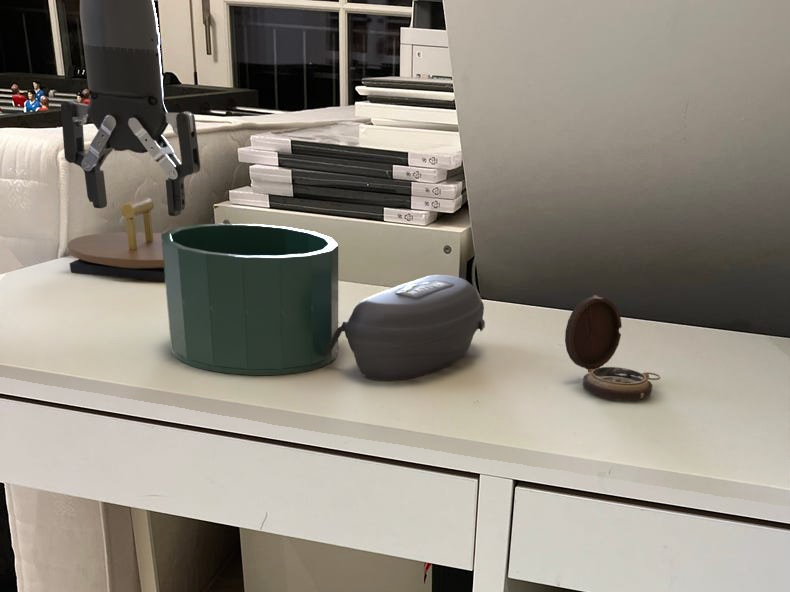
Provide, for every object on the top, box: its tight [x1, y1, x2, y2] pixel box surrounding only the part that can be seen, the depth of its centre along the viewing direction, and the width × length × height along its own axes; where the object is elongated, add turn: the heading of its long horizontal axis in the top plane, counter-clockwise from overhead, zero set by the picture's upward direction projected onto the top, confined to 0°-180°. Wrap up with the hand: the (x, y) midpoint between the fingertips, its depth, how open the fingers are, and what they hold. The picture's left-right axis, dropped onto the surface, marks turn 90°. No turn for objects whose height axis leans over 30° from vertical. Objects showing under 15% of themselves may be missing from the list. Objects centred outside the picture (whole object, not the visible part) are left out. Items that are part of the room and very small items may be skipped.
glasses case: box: [324, 274, 486, 381], centre depth 88 cm, size 18×10×8 cm, turn 154°
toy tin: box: [161, 223, 339, 376], centre depth 86 cm, size 15×15×10 cm
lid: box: [67, 196, 164, 269], centre depth 111 cm, size 16×16×6 cm
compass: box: [564, 295, 661, 401], centre depth 86 cm, size 8×8×7 cm
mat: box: [69, 258, 165, 283], centre depth 113 cm, size 12×12×1 cm
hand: (137, 211), depth 110 cm, fingers open, 8 cm apart
